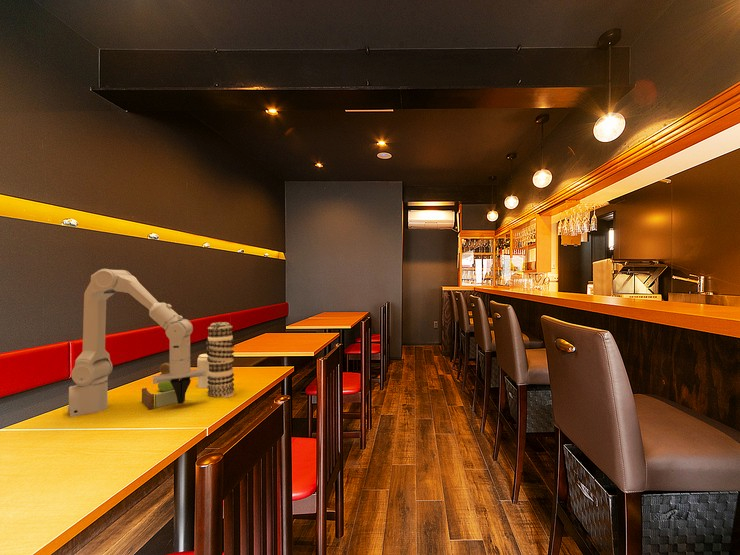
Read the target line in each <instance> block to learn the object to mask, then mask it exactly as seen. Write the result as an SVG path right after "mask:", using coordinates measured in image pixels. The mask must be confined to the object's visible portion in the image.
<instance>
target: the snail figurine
mask: <svg viewBox="0 0 740 555" xmlns="http://www.w3.org/2000/svg"><path fill="white" fill-rule="evenodd" d="M159 372H160V373H159V375H163V374H168V373H170V362H164V363H162V364H161V365H160V366H159ZM157 387H158V390H159V391H160V392H161V393H163V392H167V391H172V390H174V388H173V386H172V384H171V382H170V381H167V382H160V383H157Z"/></svg>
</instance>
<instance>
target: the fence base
mask: <svg viewBox="0 0 740 555" xmlns="http://www.w3.org/2000/svg"><path fill="white" fill-rule="evenodd" d="M141 403H143V405H144V406H146V408H147V410H154V409H155V394H154V393H151V392H150V391H148V388H147V387H142V388H141Z"/></svg>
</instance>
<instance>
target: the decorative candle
mask: <svg viewBox="0 0 740 555" xmlns="http://www.w3.org/2000/svg"><path fill="white" fill-rule="evenodd" d="M207 329H208V336H207V340H206V342H205V345H207V347H206V348H205V349H206V353H205V354H207V355H208V356H209V357H208V358H207V360H208V361H207V363H209V371H208V375H209V376H208V377H207V378H208V379H209V380H208V382H207V383H208V384H209V385H208V387H207V388H206V389H207V392H206V393H207V394H208V395H209V396H210V397H215V398H218V397H220V398H221V397H222V398H224V399H227V398H231V397H233V396H234V395H235V392H234V391H235V388H234V386H235V383H234V380H235V378H234V376H235V373H234V368H233V362H234V360H235V359H234V357H235V355H234V353H235V351H234V350H233V348H234V347H235V344H234V343H235V340H234V337H233V325H231V324H230V322H227V321H224V322H223V321H219V322H212V323H210V325H209V326H208V327H207Z"/></svg>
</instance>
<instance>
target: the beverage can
mask: <svg viewBox="0 0 740 555" xmlns="http://www.w3.org/2000/svg"><path fill="white" fill-rule="evenodd" d="M208 357H209V356H208V355H207V354H206V353H202V354H199V355H198V357H197V361H196V362H197V366H196V367H197V369H196V370H201V369H205V370H206V376H204V377H202V376H200V377H197V388H198V389H199V388H200V389H207V387H208V385H209V384H208V383H207V382H208V380H209V379H208V378H207V377H208V376H209V375H208V371H209V363H207V361H208V360H207V358H208Z"/></svg>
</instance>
